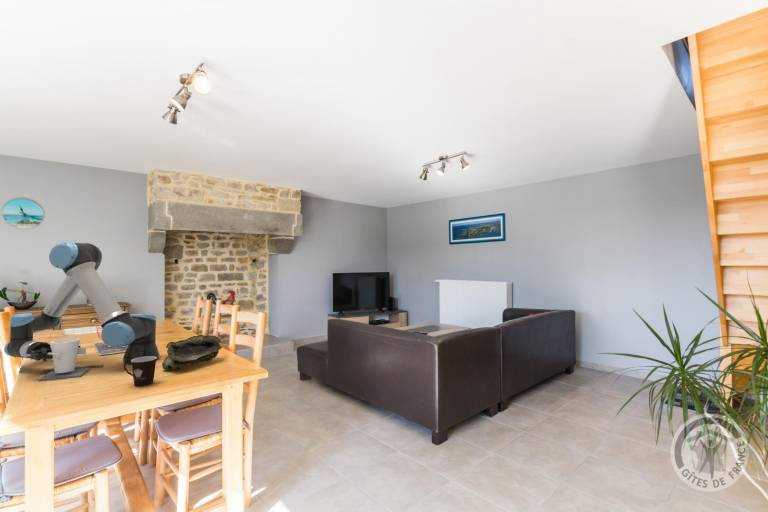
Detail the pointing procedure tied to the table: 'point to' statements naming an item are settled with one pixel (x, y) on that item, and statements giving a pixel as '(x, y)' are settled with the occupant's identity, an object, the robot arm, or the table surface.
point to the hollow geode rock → (191, 351)
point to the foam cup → (65, 354)
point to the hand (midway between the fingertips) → (72, 354)
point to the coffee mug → (142, 370)
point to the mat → (65, 374)
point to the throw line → (75, 368)
